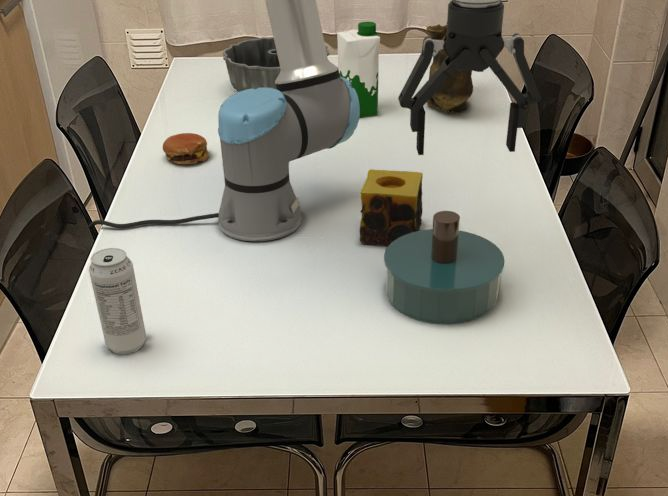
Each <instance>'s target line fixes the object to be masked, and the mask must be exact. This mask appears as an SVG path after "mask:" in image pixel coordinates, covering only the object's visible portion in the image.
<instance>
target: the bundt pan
mask: <svg viewBox="0 0 668 496" xmlns="http://www.w3.org/2000/svg"><path fill="white" fill-rule="evenodd" d="M325 48H326V53H327V57H329V56H330V50H329V48H328V45H325ZM222 56H223V57H222V59H223V61H225V65H226V69H227V74H228V78H229V82H230V84H231V87H232V88H233V89H234V90H235V91H237V93H238V92H240V91H244V90H247V89H252V88H253V89H258V88H261V87H265V88H273V89H276V85H275V81H276V79H277V77H278V75H279V74H280V71H281V68H280V64H279V60H278V55H277V51H276V46H275V42H274V37H273V36H272V37H267V36H262V37H259V38H251V39H244V40H241V41H239V42H237V43H233V44H230V45H229V47H227V48H225V49H224V50H223V51H222ZM276 90H277V89H276Z"/></svg>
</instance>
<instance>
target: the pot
mask: <svg viewBox="0 0 668 496" xmlns="http://www.w3.org/2000/svg"><path fill="white" fill-rule="evenodd" d="M385 277H386V279H385V288H386V289H385V290H386V299H387V300H388V302H389V304H390V305H391V306H392V307H393V308H394V309H395V310H396V311H397V312H399V313H400V314H402V315H404V316H406V317H408V318H410V319H413V320H416V321H419V322H423V323H428V324H436V325H456V324H457V325H458V324H463V323H468V322H472V321H475V320H477V319H479V318H481V317H483V316H485V315H487V314H489V312H491V310H493V309H494V307H495V306H496V304H497V301H498V296H499V290H500V283H501V275H500V276H499V277H498V278H497V279H496V280H494V281H493V282H492V283H490V284H488V285H486V286H483V287H481V288H478V289H474V290H469V291H463V292H451V293H448V292H433V291H427V290H422V289H418V288H415V287H412V286H409V285H407V284H404V283H403V282H401V281H399V280H397V279H396V278H395V277H393V276H392V275H391V274H390V273H389V271H388V270H387V269H386V273H385Z"/></svg>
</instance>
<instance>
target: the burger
mask: <svg viewBox="0 0 668 496" xmlns="http://www.w3.org/2000/svg"><path fill="white" fill-rule="evenodd" d="M207 146H208V142H207V139H206V138H205V137H204V136H202V135H200V134H198V133H192V132H183V133H182V132H181V133H177V134H173V135H170V136H169V137H167V138H166V139H165V140H164V141H163V143H162V151H163V152H164V154H165V157H166V158H167V160H168V161H171V162H173V163H174V164H177V165H191V164H192V165H196V164H197V163H198V162H205V161H206V160H208V159H209V156H210V155H209V150H208V147H207Z"/></svg>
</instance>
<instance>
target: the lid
mask: <svg viewBox="0 0 668 496" xmlns="http://www.w3.org/2000/svg"><path fill="white" fill-rule="evenodd" d="M460 223H461V216H460V214H459V213H457V212H455V211H451V210H441V211H437V212H435V213H433V216H432V228H430V229H422V230H421V229H420V231H416V232H412V233H409V234H406V235H404V236H401V237H399V238H398V239H396V240H394V241H393V242H392V243H391V244H390V245H389V246H386V249H385V251H384V254H383V255H384V256H383V263H384V266H385V269H386V271H387V270H388V271H389V273H390V274H391V275H392V276H393V277H395V278H396V279H397V280H399V281H401V282H403V283H404V284H407V285H409V286H412V287H415V288H418V289H422V290H427V291H433V292H448V293H451V292H463V291H469V290H474V289H478V288H481V287H483V286H486V285H488V284H490V283H492V282H493V281H494V280H496V279H497V278H498V277H499V276H500V277H501V275H502V273H503V271H504V269H505V263H506V262H505V260H506V259H505V256H504V253H503V252H502V250H501V248H499V247H498V246H497V244H495V243H494V242H493V241H491V240H489V239H487V238H485V237H483V236H481V235H479V234H476V233H472V232H469V231H466V230H465V231H464V230H461V229H460Z"/></svg>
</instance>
